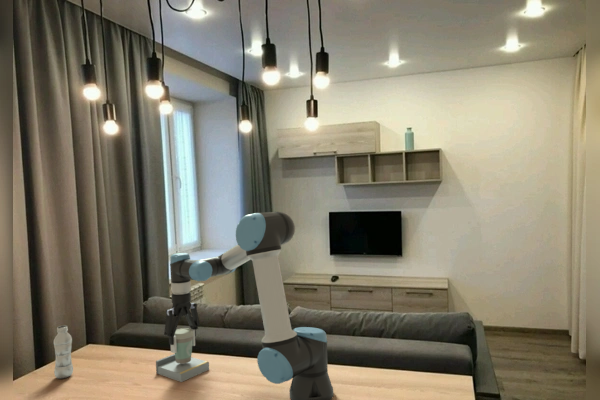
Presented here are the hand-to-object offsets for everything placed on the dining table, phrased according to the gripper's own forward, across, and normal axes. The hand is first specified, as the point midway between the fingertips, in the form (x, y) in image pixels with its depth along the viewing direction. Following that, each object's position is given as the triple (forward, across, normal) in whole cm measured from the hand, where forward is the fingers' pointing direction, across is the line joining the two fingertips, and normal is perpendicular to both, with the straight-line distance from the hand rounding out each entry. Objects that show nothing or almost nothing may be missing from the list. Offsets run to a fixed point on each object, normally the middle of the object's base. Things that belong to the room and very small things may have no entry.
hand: (183, 348), depth 178 cm
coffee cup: (+5, 0, 0) cm, 5 cm away
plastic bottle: (+9, +29, -37) cm, 48 cm away
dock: (+9, 0, 0) cm, 9 cm away
